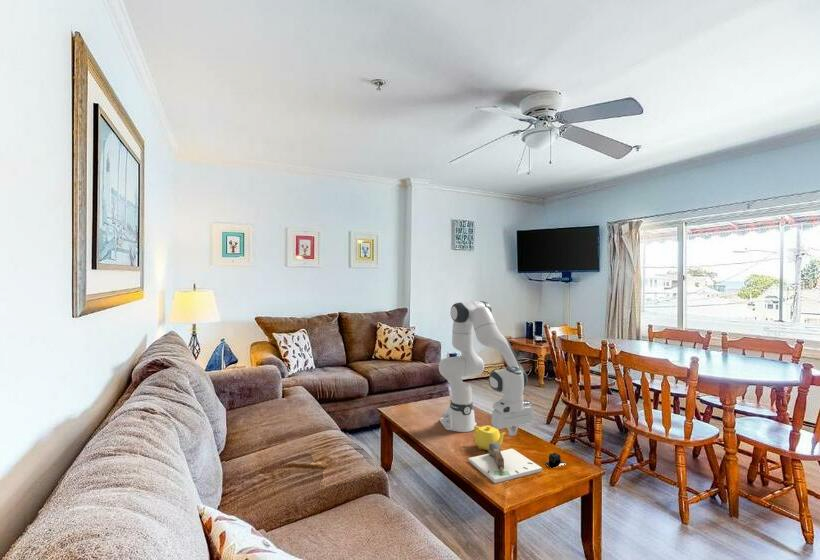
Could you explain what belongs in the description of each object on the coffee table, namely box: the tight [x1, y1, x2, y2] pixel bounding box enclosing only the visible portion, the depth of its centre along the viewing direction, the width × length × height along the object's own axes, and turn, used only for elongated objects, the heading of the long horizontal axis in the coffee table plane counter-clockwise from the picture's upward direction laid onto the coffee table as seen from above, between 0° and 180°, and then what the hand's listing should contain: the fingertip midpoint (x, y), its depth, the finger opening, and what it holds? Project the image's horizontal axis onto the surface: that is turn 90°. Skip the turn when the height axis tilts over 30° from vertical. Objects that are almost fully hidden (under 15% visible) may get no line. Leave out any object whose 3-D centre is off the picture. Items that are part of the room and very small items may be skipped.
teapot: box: [473, 425, 507, 453], centre depth 186 cm, size 18×11×11 cm, turn 45°
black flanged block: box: [545, 452, 567, 469], centre depth 171 cm, size 12×7×5 cm, turn 118°
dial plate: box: [468, 448, 543, 484], centre depth 169 cm, size 20×24×2 cm
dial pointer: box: [488, 443, 504, 474], centre depth 168 cm, size 20×5×4 cm, turn 179°
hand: (512, 434), depth 171 cm, fingers closed
